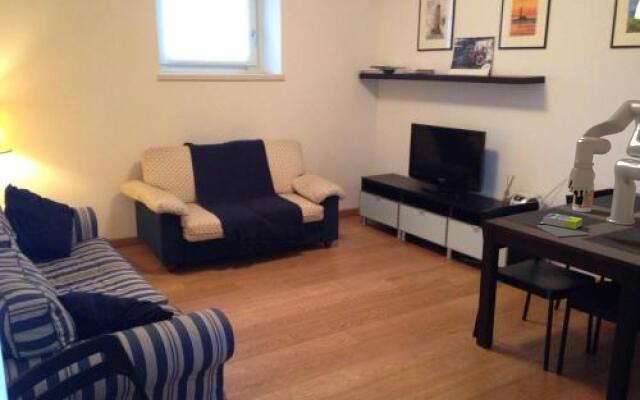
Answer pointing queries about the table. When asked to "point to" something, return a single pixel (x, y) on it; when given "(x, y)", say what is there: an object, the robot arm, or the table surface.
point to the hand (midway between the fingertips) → (578, 204)
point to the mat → (562, 231)
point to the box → (562, 221)
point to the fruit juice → (585, 200)
